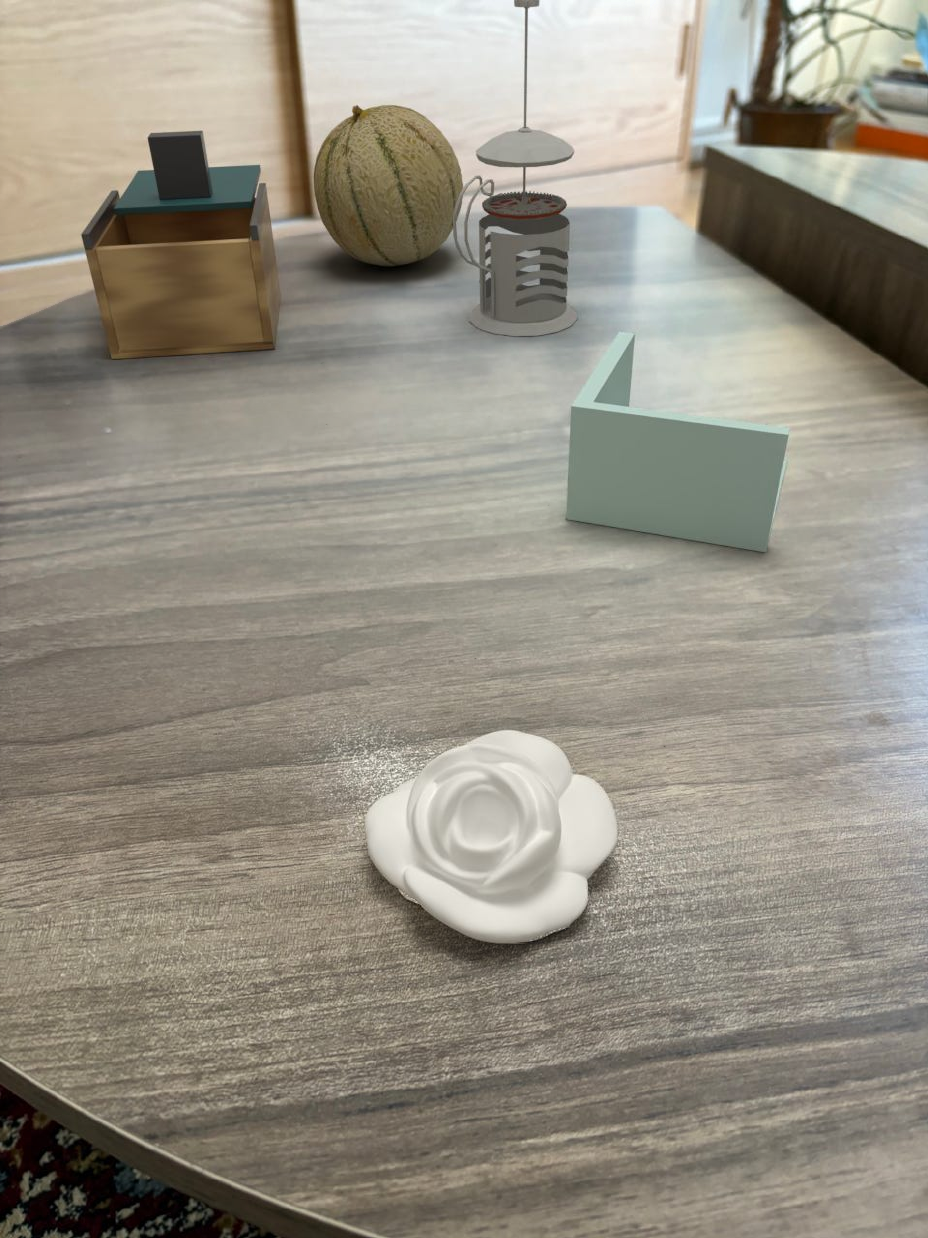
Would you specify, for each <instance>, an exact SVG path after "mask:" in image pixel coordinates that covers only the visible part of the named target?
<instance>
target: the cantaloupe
mask: <svg viewBox="0 0 928 1238" xmlns="http://www.w3.org/2000/svg"><path fill="white" fill-rule="evenodd" d="M351 109H352V110H351V112H352V115H350V116H349V117H347V118H345V119H343V120H342V121H341V122H339V123H338V124H337V125H336V126H335V127H333V129H331V131H330V132H329V133H328V134H327V136H326V137H325V139H324V140H323V141H322V143H321V145H320V148H319V150H318V153H317V156H316V159H315V164H314V168H313V190H314V198H315V203H316V207H317V211H318V214H319V217H320V220H321V222H322V225H323V226H324V228H325V229H326V231H327V232H328V234H329V235H330V237H331V239H332V240H333V241H334V242H335V243H336V244H337V246H338V247H339V248H340V249H341V250H342V251H344V252H345V253H346V254H347V255H349V256H350V257H352V258H354V259H355V260H357V261H360V262H361V263H365V264H368V265H374V266H379V267H397V266H404V265H408V264H412V263H415V262H419V261H421V260H424V259H425V258H427V257H429V256H431V255H432V254H434V253H435V252H436V251H437V250H438V249H439V248H440V247H441V246H442V245H443V244H444V243H445V242H446V241H447V239H448V238H449V236H450V235H451V233H452V232H453V214H454V210H455V206H456V203H457V200H458V197H459V194H460V193H461V191H462V189H463V188H464V182H463V174H462V169H461V166H460V163H459V158H458V157H457V155H456V153H455V151H454V148H453V146H452V145H451V143H450V142H449V140H448V139H447V138H446V137H445V135H444V134H443V133H442V131H441V130H440V129H439V128H438V127H437V126H436V124H434V123H433V122H432V121H431V120H430V119H428V118H427V117H426V116H425V115H423V114H421V113H420V112H418V111H416V110H415V109H413V108H411V107H406V106H401V105H396V104H381V105H377V106H371V107H368V108H366V109H362V108H361V107H360V106H359V105H358V104H356V105H352V107H351ZM463 198H464V195H463V196H462V198H461V201H460V204H459V207H458V211H457V216H456V222H457V221H458V219H459V216H460V213H461V209H462V205H463Z"/></svg>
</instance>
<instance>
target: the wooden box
mask: <svg viewBox="0 0 928 1238" xmlns="http://www.w3.org/2000/svg"><path fill="white" fill-rule="evenodd" d="M120 198H121V196H120V193H119V190H110V192H109V194H108V195H107V197H106V198H105V199H104V201H103V202H102V204H101V205H100V207H99V208H98V210H97V211H95V214H94V215H93V216H92V218H91V220H90V221H89V222H88V224H87V225H86V227H85V228H84V230H83V231H82V233H81V234H80V236H81V241H82V245H83V248H84V253H85V256H86V257H85V258H86V261H87V265H88V268H89V273H90V277H91V280H92V285H93V288H94V292H95V293H94V294H95V298H96V301H97V306H98V309H99V313H100V318H101V321H102V327H103V330H104V334H105V338H106V342H107V346H108V350H109V354H110V358H111V359H112V360H121V359H136V358H137V359H138V358H152V357H153V358H154V357H168V356H169V357H170V356H171V357H172V356H182V355H183V356H184V355H185V356H186V355H187V356H188V355H200V354H216V353H218V354H219V353H231V352H250V351H265V350H266V351H267V350H275V347H276V339H277V331H278V323H279V313H280V306H281V305H280V304H281V294H282V293H281V286H280V280H279V272H278V265H277V263H278V262H277V257H276V250H275V242H274V235H273V234H274V233H273V228H272V227H273V225H272V219H271V218H272V217H271V213H270V212H271V211H270V204H269V198H268V189H267V183H266V182H260V183H259V182H258V186H257V190H256V195H255V198H254V203H253V207H252V208H247V209H228V210H209V211H189V212H170V213H151V214H132V215H115V212H114V207H115V206H116V204H117V202H118V201H119V199H120Z"/></svg>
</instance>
